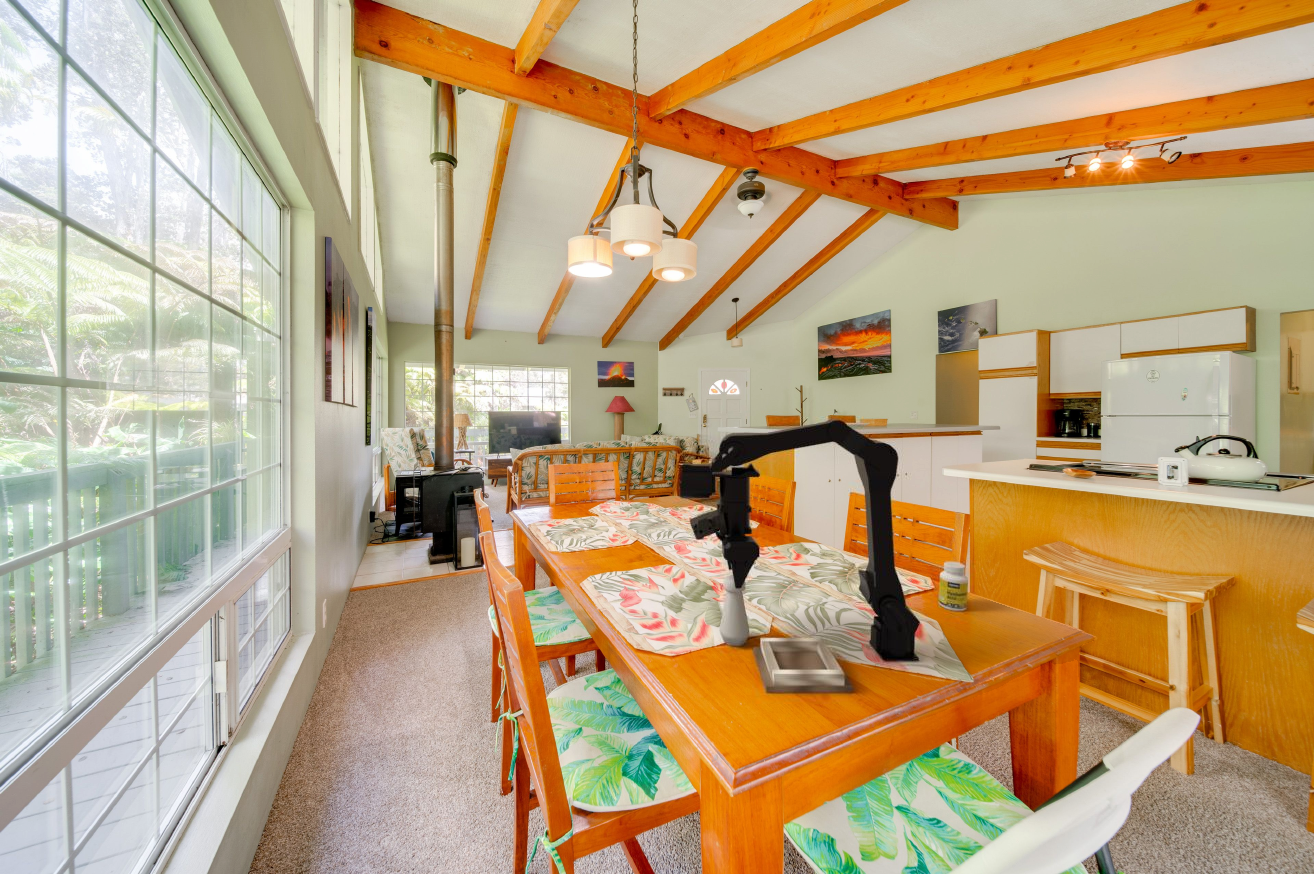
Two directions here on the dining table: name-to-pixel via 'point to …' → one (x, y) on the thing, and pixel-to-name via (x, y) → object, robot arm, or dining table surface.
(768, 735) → the dining table surface
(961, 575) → the supplement bottle
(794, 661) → the shaker stand
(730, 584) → the salt shaker
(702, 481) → the robot arm
